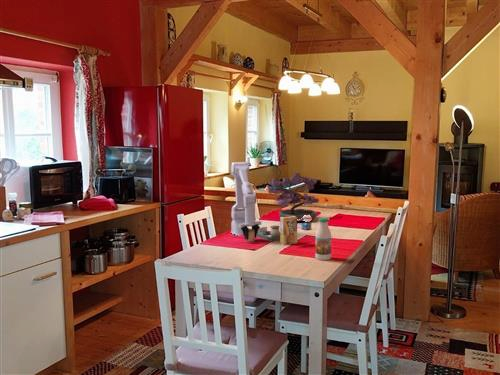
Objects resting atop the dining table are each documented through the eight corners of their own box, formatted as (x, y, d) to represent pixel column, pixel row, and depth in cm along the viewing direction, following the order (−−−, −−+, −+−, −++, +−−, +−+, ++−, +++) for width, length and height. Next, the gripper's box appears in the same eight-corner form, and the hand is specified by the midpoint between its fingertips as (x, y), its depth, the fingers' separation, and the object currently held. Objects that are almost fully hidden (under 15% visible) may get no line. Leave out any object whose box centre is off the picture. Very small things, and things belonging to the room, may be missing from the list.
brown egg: (268, 238, 278) (268, 226, 277) (275, 237, 281) (275, 225, 280) (274, 239, 274) (274, 227, 273) (281, 238, 277) (281, 226, 276)
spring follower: (255, 234, 288) (255, 227, 287) (263, 233, 291) (263, 225, 291) (259, 235, 284) (259, 228, 284) (267, 234, 288) (267, 226, 287)
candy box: (293, 242, 270) (293, 215, 268) (297, 244, 266) (297, 217, 264) (279, 244, 266) (279, 217, 264) (283, 246, 262) (283, 218, 260)
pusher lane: (248, 236, 288) (248, 229, 288) (264, 233, 295) (264, 227, 295) (271, 242, 270) (271, 236, 270) (287, 239, 277) (287, 233, 277)
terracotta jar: (244, 241, 274) (244, 229, 273) (251, 240, 276) (251, 228, 276) (249, 243, 270) (249, 231, 269) (256, 242, 272) (256, 229, 272)
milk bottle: (313, 256, 241) (313, 217, 238) (329, 256, 241) (329, 216, 239) (317, 260, 233) (317, 220, 231) (333, 260, 234) (333, 219, 231)
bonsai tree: (320, 216, 345) (321, 171, 341) (315, 224, 319) (315, 175, 315) (273, 215, 355) (272, 170, 351) (264, 222, 329) (263, 174, 325)
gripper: (243, 217, 264) (243, 241, 265) (264, 214, 272) (264, 238, 274) (236, 215, 269) (236, 239, 271) (257, 212, 278) (257, 235, 279)
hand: (250, 238), depth 273 cm, fingers closed on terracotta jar, 5 cm apart
